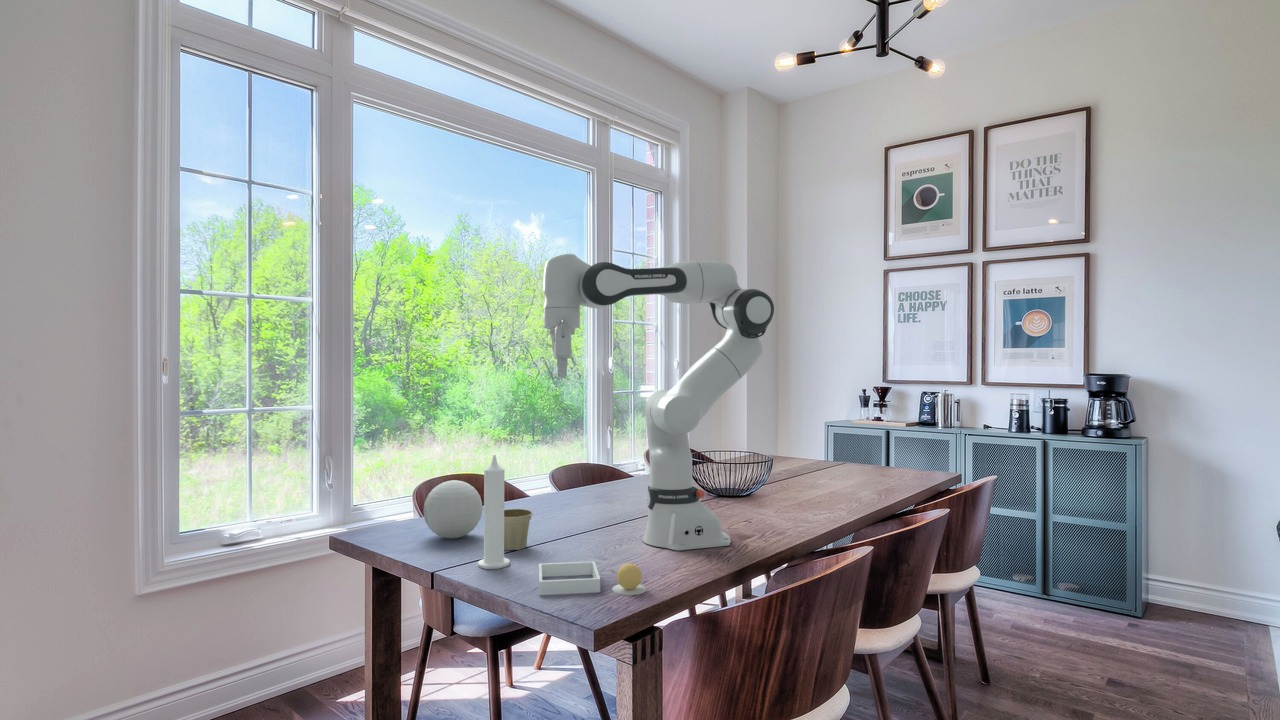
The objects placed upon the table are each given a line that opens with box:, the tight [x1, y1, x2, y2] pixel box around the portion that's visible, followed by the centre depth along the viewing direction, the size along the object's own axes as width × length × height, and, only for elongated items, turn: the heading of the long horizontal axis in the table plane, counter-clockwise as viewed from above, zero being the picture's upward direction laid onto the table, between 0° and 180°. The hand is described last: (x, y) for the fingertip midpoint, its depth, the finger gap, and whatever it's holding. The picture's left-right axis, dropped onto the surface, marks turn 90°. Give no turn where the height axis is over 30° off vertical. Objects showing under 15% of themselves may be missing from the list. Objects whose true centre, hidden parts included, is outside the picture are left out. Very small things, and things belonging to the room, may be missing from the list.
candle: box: [477, 454, 511, 570], centre depth 152 cm, size 7×7×25 cm
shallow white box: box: [538, 560, 601, 596], centre depth 137 cm, size 12×12×3 cm
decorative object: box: [423, 479, 483, 539], centre depth 176 cm, size 15×15×15 cm
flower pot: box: [504, 508, 534, 551], centre depth 166 cm, size 9×9×9 cm
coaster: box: [611, 583, 647, 596], centre depth 134 cm, size 7×7×1 cm
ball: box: [616, 563, 643, 589], centre depth 134 cm, size 5×5×5 cm
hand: (562, 377), depth 163 cm, fingers open, 8 cm apart
